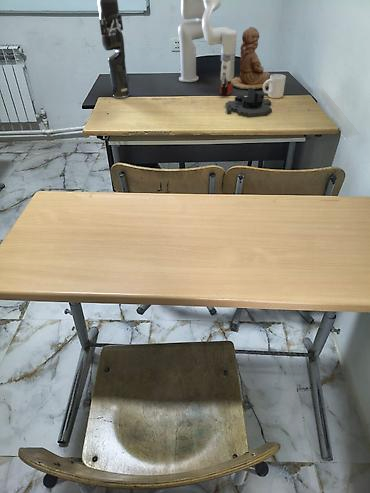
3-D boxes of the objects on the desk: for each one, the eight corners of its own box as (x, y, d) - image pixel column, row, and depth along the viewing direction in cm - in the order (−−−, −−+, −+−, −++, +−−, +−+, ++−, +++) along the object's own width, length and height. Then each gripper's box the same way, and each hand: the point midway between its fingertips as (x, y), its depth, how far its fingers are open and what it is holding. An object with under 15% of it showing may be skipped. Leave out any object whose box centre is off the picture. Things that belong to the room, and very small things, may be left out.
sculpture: (274, 90, 207) (281, 30, 187) (232, 91, 207) (235, 31, 188) (266, 76, 228) (272, 21, 208) (228, 77, 228) (231, 23, 209)
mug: (263, 99, 195) (266, 79, 188) (259, 94, 201) (261, 75, 194) (285, 97, 196) (288, 77, 189) (279, 93, 202) (282, 73, 196)
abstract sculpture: (232, 99, 169) (222, 86, 184) (231, 118, 175) (221, 105, 190) (283, 94, 172) (268, 83, 187) (280, 114, 178) (266, 101, 193)
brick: (228, 94, 199) (229, 86, 196) (220, 93, 201) (220, 85, 198) (231, 92, 203) (232, 83, 200) (222, 90, 204) (223, 82, 201)
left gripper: (106, 2, 143) (113, 48, 153) (124, -2, 153) (129, 41, 163) (91, 2, 145) (98, 47, 156) (109, -2, 155) (115, 40, 166)
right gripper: (230, 61, 183) (227, 98, 195) (239, 53, 194) (236, 88, 206) (216, 60, 185) (214, 96, 197) (226, 52, 197) (224, 87, 209)
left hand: (114, 44), depth 160 cm, fingers open, 8 cm apart
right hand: (225, 92), depth 202 cm, fingers closed on brick, 5 cm apart
